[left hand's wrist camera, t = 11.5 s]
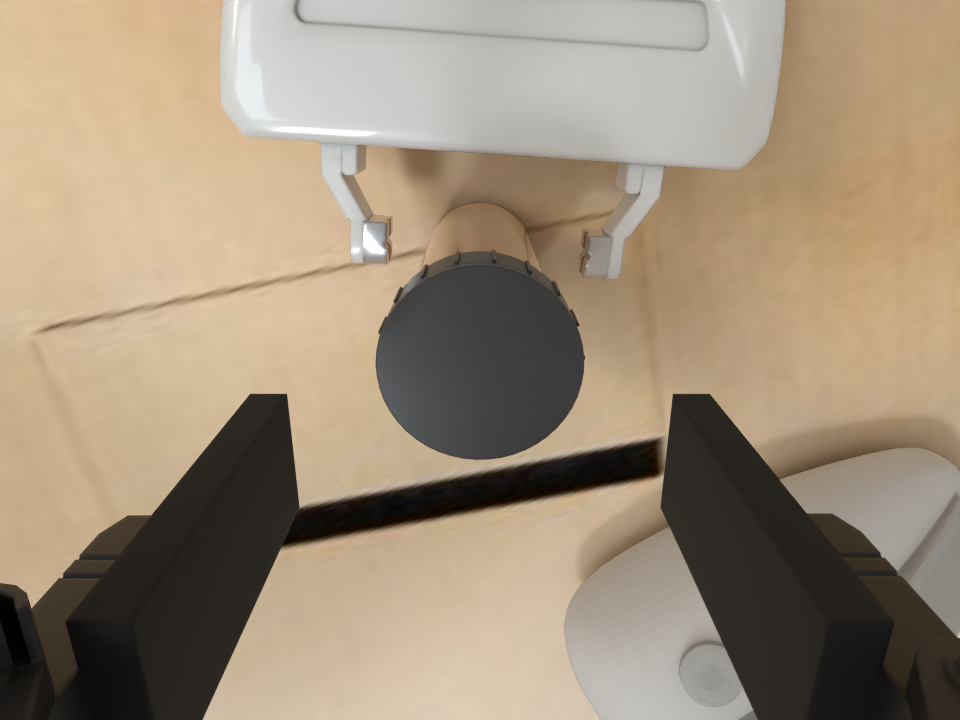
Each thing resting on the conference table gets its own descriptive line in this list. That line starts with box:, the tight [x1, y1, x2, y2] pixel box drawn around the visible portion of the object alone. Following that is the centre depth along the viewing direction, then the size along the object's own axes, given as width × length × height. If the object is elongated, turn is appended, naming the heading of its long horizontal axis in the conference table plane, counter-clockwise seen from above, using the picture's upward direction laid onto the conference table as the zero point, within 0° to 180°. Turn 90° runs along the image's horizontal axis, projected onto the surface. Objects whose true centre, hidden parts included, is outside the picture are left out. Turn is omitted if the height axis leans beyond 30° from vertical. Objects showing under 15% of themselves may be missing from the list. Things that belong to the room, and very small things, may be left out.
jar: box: [418, 203, 542, 273], centre depth 26 cm, size 5×5×16 cm
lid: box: [376, 250, 585, 460], centre depth 20 cm, size 6×6×2 cm
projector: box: [565, 447, 960, 720], centre depth 34 cm, size 22×23×15 cm
